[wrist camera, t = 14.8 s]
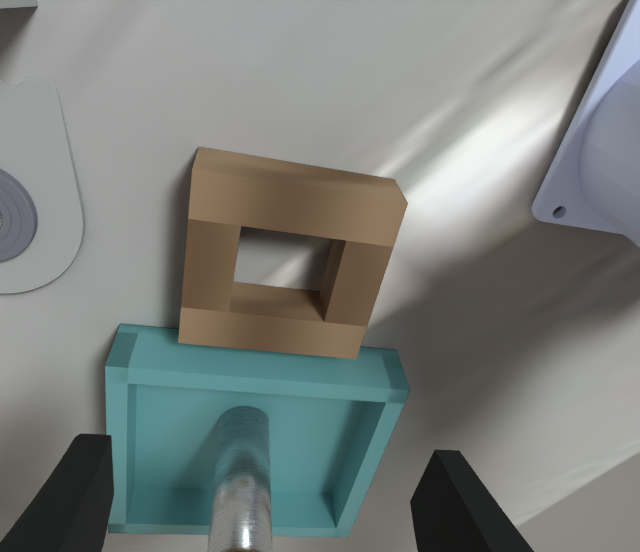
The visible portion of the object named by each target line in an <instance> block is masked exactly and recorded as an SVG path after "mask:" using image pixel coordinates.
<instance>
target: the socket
mask: <svg viewBox="0 0 640 552" xmlns="http://www.w3.org/2000/svg"><path fill="white" fill-rule="evenodd" d="M407 205H408V202H407V201H406V199H405V197H404V195H403V194H402V192H401V190H400V188H399V186H398V185H397V183H396V181H395V179H389V178H383V177H377V176H371V175H365V174H359V173H353V172H347V171H341V170H335V169H329V168H323V167H317V166H311V165H305V164H299V163H293V162H287V161H281V160H275V159H269V158H263V157H257V156H251V155H245V154H239V153H233V152H227V151H221V150H215V149H209V148H202V147H198V150H197V154H196V157H195V161H194V164H193V168H192V177H191V189H190V202H189V214H188V226H187V239H186V251H185V263H184V276H183V288H182V301H181V313H180V325H179V338H178V343H183V344H194V345H205V346H216V347H227V348H238V349H249V350H260V351H271V352H282V353H293V354H304V355H315V356H326V357H337V358H348V359H356V358H357V355H358V352H359V349H360V346H361V343H362V340H363V337H364V334H365V331H366V328H367V325H368V322H369V319H370V316H371V313H372V310H373V307H374V304H375V301H376V298H377V295H378V292H379V289H380V286H381V283H382V280H383V277H384V274H385V271H386V268H387V265H388V262H389V259H390V256H391V253H392V250H393V247H394V244H395V241H396V238H397V235H398V232H399V229H400V226H401V223H402V220H403V217H404V214H405V211H406V208H407ZM241 226H245V227H252V228H259V229H267V230H274V231H281V232H288V233H295V234H303V235H310V236H317V237H324V238H332V243H331V247H330V251H329V255H328V259H327V263H326V267H325V271H324V275H323V278H322V282H321V286H320V290H319V292H316V291H308V290H299V289H290V288H282V287H273V286H265V285H256V284H248V283H239V282H233V279H234V272H235V265H236V258H237V251H238V244H239V237H240V230H241Z"/></svg>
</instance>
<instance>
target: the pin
mask: <svg viewBox="0 0 640 552" xmlns="http://www.w3.org/2000/svg"><path fill="white" fill-rule="evenodd" d="M208 552H272V516H271V474H270V432H269V418H268V416H267V415H266V413H265V412H263V411H262V410H260V409H258V408H256V407H252V406H237V407H233V408H231V409H229V410H227V411H225V412H224V413H223V414H222V415H221V417H220V418H219V421H218V432H217V444H216V456H215V468H214V480H213V492H212V504H211V516H210V528H209V540H208Z"/></svg>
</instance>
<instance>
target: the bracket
mask: <svg viewBox="0 0 640 552" xmlns="http://www.w3.org/2000/svg"><path fill="white" fill-rule="evenodd" d="M33 6H38V5H37V0H0V9H1V8H17V7H33ZM0 212H1V215H2V226H1V227H0V293H18V292H25V291H29V290H32V289H36V288H38V287H41V286H43V285H46V284H48V283H49V282H51V281H53V280H54V279H56V278H57V277H58V276H60V275H61V274H62V273H63V272H64V271H65V270H66V269H67V268H68V267H69V266H70V264H71V263H72V262H73V260H74V258H75V257H76V255H77V253H78V252H79V249H80V247H81V244H82V241H83V236H84V231H85V217H84V209H83V203H82V198H81V193H80V188H79V183H78V178H77V173H76V169H75V164H74V160H73V156H72V151H71V147H70V143H69V138H68V134H67V129H66V125H65V121H64V116H63V112H62V107H61V103H60V99H59V94H58V90H57V86H56V81H55V79H40V78H25V80H24V82H23V83H22V84H20V85H18V86H13V85H9V84H7V83H5V82H4V81H3V80H1V79H0Z"/></svg>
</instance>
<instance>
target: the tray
mask: <svg viewBox="0 0 640 552" xmlns="http://www.w3.org/2000/svg"><path fill="white" fill-rule="evenodd" d="M178 338H179V329H172V328H161V327H151V326H141V325H130V324H120V326H119V329H118V331H117V334H116V337H115V340H114V342H113V345H112V348H111V351H110V354H109V356H108V359H107V362H106V365H105V389H106V435H111V437H112V458H113V479H114V497H113V502H112V507H111V512H110V516H109V521H108V533H139V534H192V535H209V528H210V516H211V504H212V492H213V480H214V468H215V456H216V444H217V432H218V421H219V418H220V417H221V415H222V414H223V413H224V412H225V411H227V410H229V409H231V408H233V407H237V406H252V407H256V408H258V409H260V410H262V411H263V412H265V413H266V415H267V416H268V418H269V432H270V474H271V516H272V536H297V537H348V535H349V533H350V530H351V528H352V526H353V523H354V521H355V519H356V516H357V514H358V511H359V509H360V507H361V504H362V502H363V500H364V497H365V495H366V493H367V490H368V488H369V486H370V483H371V481H372V479H373V476H374V474H375V471H376V469H377V467H378V464H379V462H380V460H381V457H382V455H383V453H384V450H385V448H386V446H387V443H388V441H389V439H390V436H391V434H392V431H393V429H394V427H395V424H396V422H397V420H398V417H399V415H400V413H401V410H402V408H403V406H404V403H405V401H406V399H407V396H408V394H409V391H410V389H409V386H408V383H407V380H406V377H405V374H404V371H403V368H402V365H401V362H400V359H399V356H398V353H397V350H390V349H380V348H369V347H360V349H359V352H358V355H357V358H356V359H348V358H337V357H326V356H315V355H304V354H293V353H282V352H271V351H260V350H249V349H238V348H227V347H216V346H205V345H194V344H183V343H178Z"/></svg>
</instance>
